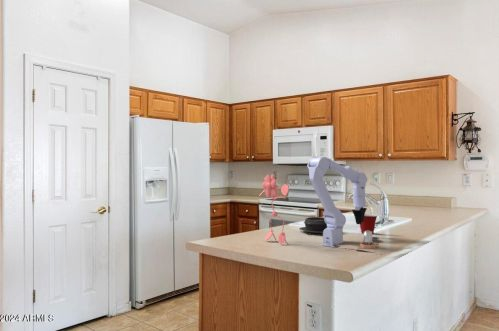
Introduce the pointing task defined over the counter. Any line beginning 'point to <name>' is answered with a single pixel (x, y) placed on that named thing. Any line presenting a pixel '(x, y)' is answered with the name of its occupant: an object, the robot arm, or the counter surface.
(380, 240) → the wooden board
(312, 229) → the casserole
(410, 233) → the counter surface
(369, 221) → the plastic cup
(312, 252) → the counter surface
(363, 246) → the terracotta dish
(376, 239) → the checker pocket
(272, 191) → the figurine
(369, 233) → the steel cell
